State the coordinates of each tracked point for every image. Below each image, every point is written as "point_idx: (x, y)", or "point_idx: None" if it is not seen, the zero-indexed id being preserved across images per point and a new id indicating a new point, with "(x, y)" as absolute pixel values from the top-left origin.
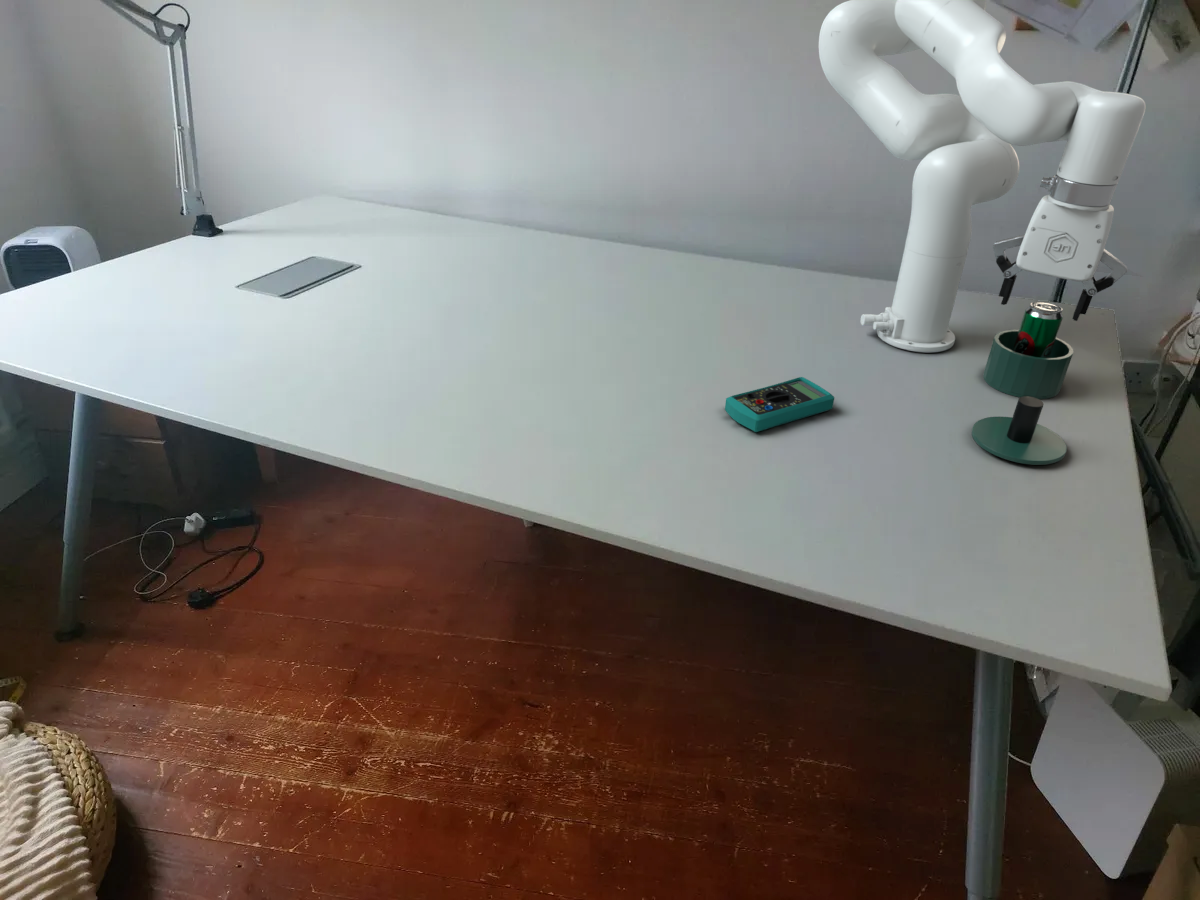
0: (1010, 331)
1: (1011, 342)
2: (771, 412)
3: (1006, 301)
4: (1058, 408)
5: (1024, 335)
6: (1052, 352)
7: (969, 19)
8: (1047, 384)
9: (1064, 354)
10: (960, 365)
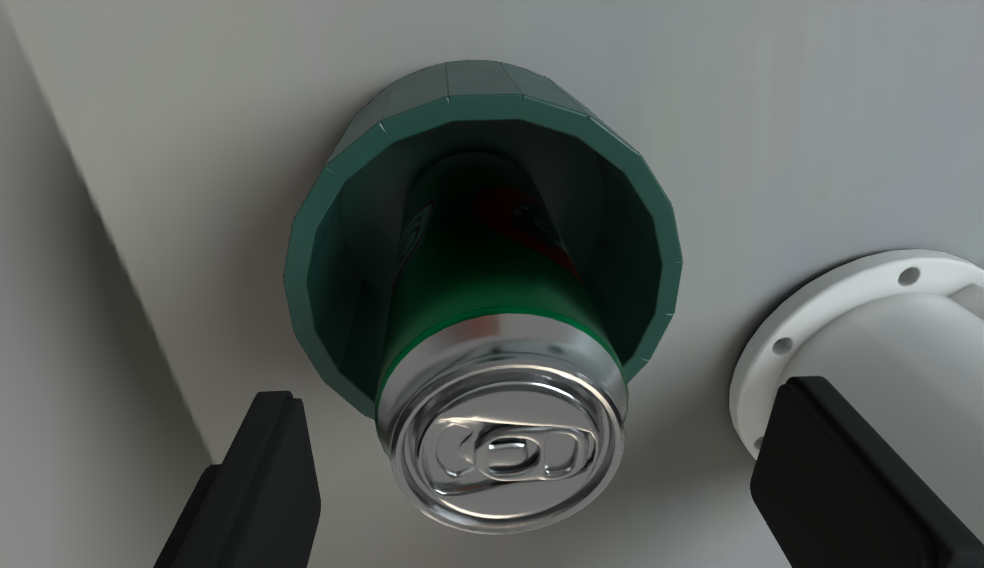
0: None
1: None
2: None
3: (801, 394)
4: (289, 44)
5: (557, 254)
6: None
7: None
8: (360, 116)
9: (339, 335)
10: (702, 239)
